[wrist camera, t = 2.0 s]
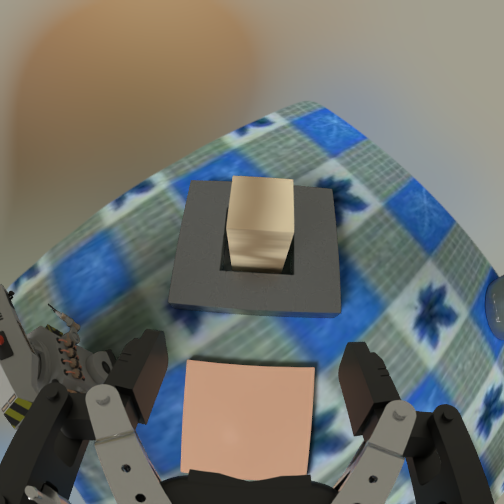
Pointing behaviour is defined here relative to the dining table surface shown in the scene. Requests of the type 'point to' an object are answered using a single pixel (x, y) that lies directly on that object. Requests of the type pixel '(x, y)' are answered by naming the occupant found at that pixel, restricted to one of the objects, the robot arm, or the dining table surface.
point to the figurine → (42, 361)
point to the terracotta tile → (247, 420)
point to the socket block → (257, 284)
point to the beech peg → (260, 223)
